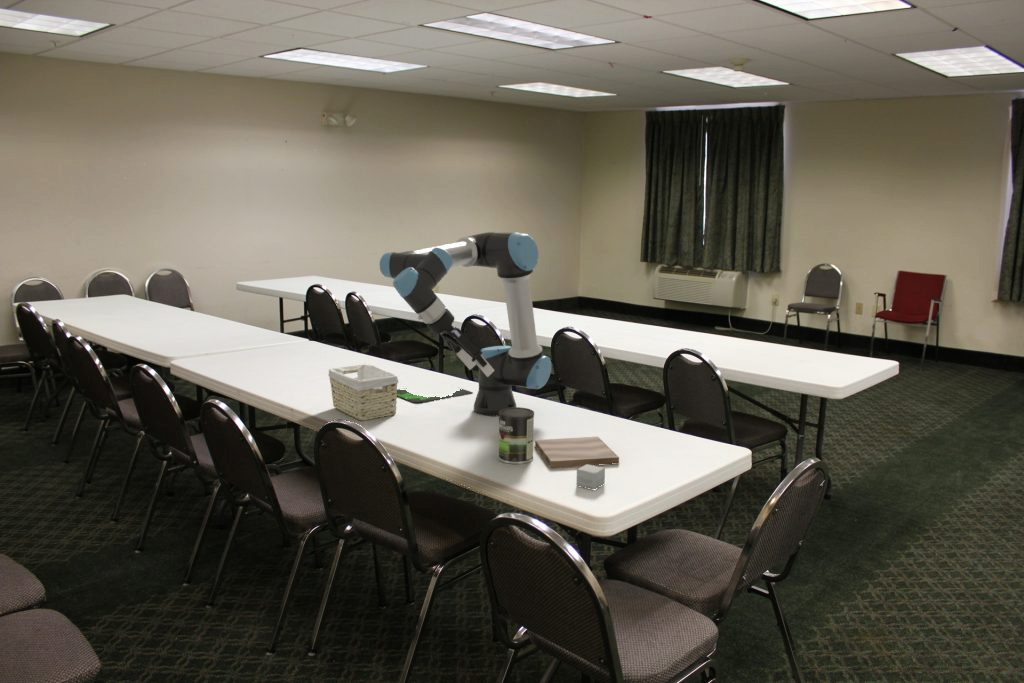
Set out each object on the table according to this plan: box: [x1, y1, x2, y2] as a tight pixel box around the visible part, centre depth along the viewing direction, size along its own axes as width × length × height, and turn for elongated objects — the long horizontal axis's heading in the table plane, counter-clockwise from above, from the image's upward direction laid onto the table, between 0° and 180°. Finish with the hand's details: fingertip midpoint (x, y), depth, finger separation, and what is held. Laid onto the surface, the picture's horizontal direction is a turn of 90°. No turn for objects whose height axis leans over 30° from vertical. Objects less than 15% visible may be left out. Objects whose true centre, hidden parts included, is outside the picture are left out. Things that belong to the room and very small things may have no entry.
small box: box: [575, 464, 606, 490], centre depth 208 cm, size 6×6×5 cm
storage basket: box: [328, 363, 399, 421], centre depth 277 cm, size 24×16×15 cm
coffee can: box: [497, 406, 535, 465], centre depth 229 cm, size 10×10×14 cm
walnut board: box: [534, 436, 620, 469], centre depth 233 cm, size 20×20×2 cm
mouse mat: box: [397, 388, 474, 404], centre depth 306 cm, size 27×22×1 cm
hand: (481, 370), depth 229 cm, fingers open, 13 cm apart
